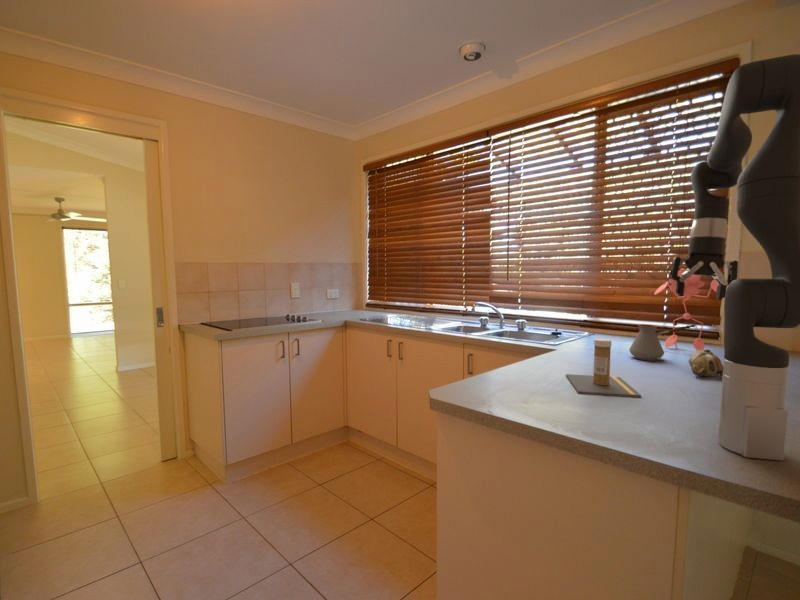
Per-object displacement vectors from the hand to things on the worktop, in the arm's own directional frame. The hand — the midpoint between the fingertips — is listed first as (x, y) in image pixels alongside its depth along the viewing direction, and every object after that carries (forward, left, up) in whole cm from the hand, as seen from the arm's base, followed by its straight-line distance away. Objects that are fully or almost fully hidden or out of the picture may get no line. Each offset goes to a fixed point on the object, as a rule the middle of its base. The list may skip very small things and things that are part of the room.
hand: (699, 298), depth 105 cm
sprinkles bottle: (+6, +22, -27) cm, 35 cm away
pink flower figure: (+65, -24, -27) cm, 75 cm away
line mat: (+6, +22, -27) cm, 35 cm away
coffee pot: (+45, -9, -27) cm, 53 cm away
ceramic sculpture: (+26, -16, -28) cm, 41 cm away
